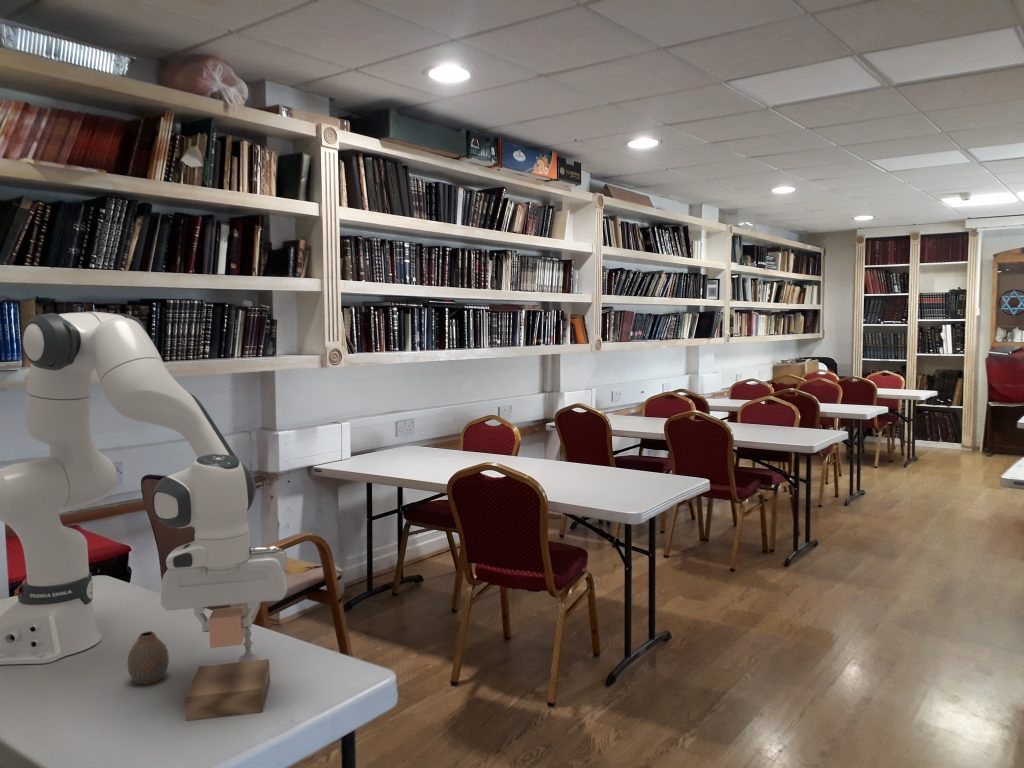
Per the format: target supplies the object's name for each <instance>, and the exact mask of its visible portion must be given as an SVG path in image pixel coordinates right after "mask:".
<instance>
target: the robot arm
mask: <svg viewBox="0 0 1024 768" xmlns="http://www.w3.org/2000/svg"><path fill="white" fill-rule="evenodd" d="M21 335H22V336H21V346H22V351H23V353H24V355H25V357H26V359H27V360H28V361H29V362H30V365H29V366H30V367H29V371H28V377H27V383H26V384H27V385H26V397H25V413H24V415H25V416H24V428H25V430H26V431H27V433H28V434H29V435H30V436H31V437H32V439H35V440H36V441H38V442H41V443H43V444H45V445H48V447H49V457H48V458H44V459H37V460H30V461H25V462H18V463H13V464H11V465H8V466H4V467H2V468H0V522H2V523H4V524H5V525H7V526H9V528H10V529H12V531H13V532H14V533H15V534H16V536H17V537H18V539H19V541H20V544H21V547H22V549H23V550H22V551H23V555H24V556H23V557H24V563H25V564H24V565H25V571H26V572H25V573H26V578H25V579H24V580H22V582H21V584H20V585H18V586H17V588H16V589H15V590H14V591H13V593H14V595H13V596H14V597H17V599H18V601H16V602H15V603H14V604H12V606H11V607H9V608H8V609H7V610H6V611H4V612H3V613H2V614H1V615H0V665H1V666H2V665H29V664H30V665H33V664H35V665H36V664H37V665H38V664H49V663H52V662H55V661H56V660H57V661H58V660H60V659H62V658H64V657H67V656H70V655H73V654H77V653H81V652H83V651H85V650H87V649H90V648H92V647H93V646H95V645H96V644H99V642H100V641H101V640H102V639H103V635H102V633H101V631H100V627H99V626H98V623H97V618H96V616H95V615H96V614H95V610H94V605H93V600H94V599H93V598H94V583H93V577H92V572H90V566H89V553H88V552H89V550H88V549H89V547H88V540H87V538H86V536H85V535H84V534H83V533H82V532H81V531H79V530H78V529H74V528H72V527H68V526H65V525H63V523H62V521H61V517H60V512H61V511H66V510H69V509H74V508H80V507H83V506H88V505H91V504H94V503H96V502H98V501H100V500H103V499H105V498H107V497H109V496H110V495H111V494H112V493H113V492H114V490H115V488H116V486H117V482H118V473H117V469H116V467H115V465H114V463H113V462H112V460H111V459H110V458H109V457H108V456H106V455H104V454H103V453H102V452H101V451H100V450H98V448H97V447H96V446H95V444H94V441H93V438H92V436H91V431H90V430H91V429H90V406H91V393H92V392H91V391H92V388H91V387H92V374H93V372H94V370H95V371H96V374H97V376H98V380H99V381H100V384H101V386H102V389H103V392H104V394H105V396H106V398H107V400H108V401H109V404H110V405H111V406H112V407H113V408H114V410H115V411H116V412H117V413H119V414H120V415H122V416H123V417H125V418H128V419H130V420H132V421H133V420H134V421H136V422H140V423H147V424H153V425H156V426H161V427H164V428H167V429H170V430H173V431H174V432H177V433H179V434H180V435H181V436H182V437H184V438H185V439H186V441H187V443H189V445H190V447H191V448H192V450H193V451H194V453H195V454H196V456H197V458H196V459H195V460H193V463H192V464H191V465H190V466H188V467H186V468H185V469H183V470H181V471H178V472H176V473H173V474H170V475H167V476H164V477H162V478H161V479H160V480H159V481H158V482H157V483H156V485H155V487H154V490H153V493H152V497H151V498H152V499H151V501H152V509H153V514H154V516H155V517H156V519H157V520H158V521H159V523H161V524H162V525H163V526H165V527H167V528H169V529H183V528H189V527H192V528H193V529H194V540H193V541H191V542H188V543H184V544H182V545H179V546H177V547H176V548H174V549H172V551H171V552H170V553H169V554H168V555H167V557H166V560H165V564H166V567H167V569H166V571H165V572H164V574H163V576H162V579H161V587H160V605H161V607H162V608H163V609H165V611H175V610H186V609H187V610H189V609H193V611H194V613H193V614H194V616H195V617H196V619H197V620H198V621H199V623H201V629H202V630H201V631H202V633H209V617H208V616H207V615H206V614H205V613H204V611H205V609H206V608H209V607H210V608H211V607H219V606H230V605H232V604H243V603H248V609H250V611H249V613H248V615H244V616H243V617H242V619H241V620H242V628H250V629H251V628H252V625H253V622H252V615H253V613H254V611H255V610H256V607H257V605H258V602H261V603H263V602H273V601H281V600H282V599H284V597H286V594H287V592H288V586H287V585H288V584H287V577H286V573H285V570H286V568H287V566H288V555H287V552H286V551H285V550H284V549H283V548H281V547H278V545H277V546H276V545H269V546H258V547H257V546H256V547H251V534H250V526H249V523H248V520H247V513H248V511H249V509H251V506H252V505H253V503H254V501H255V498H256V495H257V483H256V480H255V478H254V476H253V474H252V473H251V471H250V470H249V469H248V468H247V467H246V465H245V464H244V463H243V462H242V461H240V459H239V458H238V457H237V456H236V454H235V452H233V449H232V448H231V447H230V445H229V443H228V442H227V440H226V439H225V437H224V436H223V434H222V433H221V431H220V430H219V428H218V426H217V425H216V424H215V422H214V420H213V418H212V417H211V415H210V414H209V413H208V411H207V410H206V408H205V407H204V405H203V404H202V403H201V401H200V400H199V399H198V398H197V397H196V396H195V395H194V394H193V393H191V392H189V391H187V390H186V389H185V388H183V387H182V386H181V385H180V384H179V382H177V380H176V379H175V378H174V377H173V375H172V374H171V373H170V372H169V371H168V368H167V367H166V365H165V362H164V361H163V358H162V357H161V354H160V353H159V350H158V349H157V347H156V345H155V343H154V342H153V340H152V339H151V337H150V336H149V334H148V333H147V328H146V327H145V326H144V323H143V322H142V321H141V319H140V318H138V317H136V316H133V315H130V314H126V313H121V312H117V313H110V312H103V311H101V312H99V311H84V312H67V313H59V314H58V313H54V312H50V313H44V314H39V315H36V316H33V317H32V318H30V319H29V321H28V322H27V323H26V325H25V326H24V327H23V331H22V334H21Z"/></svg>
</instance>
